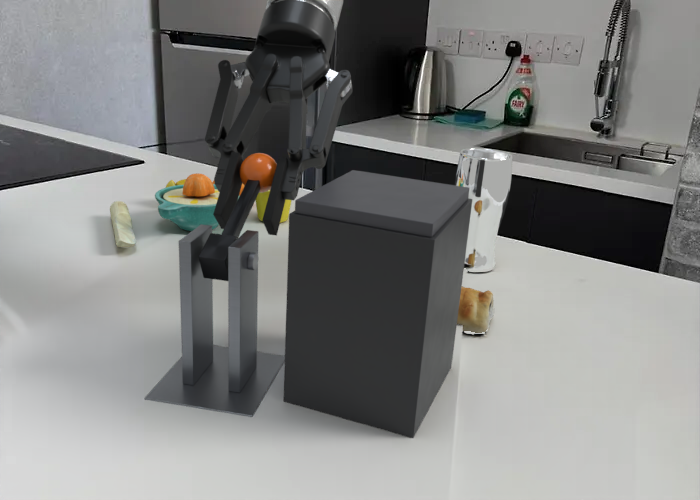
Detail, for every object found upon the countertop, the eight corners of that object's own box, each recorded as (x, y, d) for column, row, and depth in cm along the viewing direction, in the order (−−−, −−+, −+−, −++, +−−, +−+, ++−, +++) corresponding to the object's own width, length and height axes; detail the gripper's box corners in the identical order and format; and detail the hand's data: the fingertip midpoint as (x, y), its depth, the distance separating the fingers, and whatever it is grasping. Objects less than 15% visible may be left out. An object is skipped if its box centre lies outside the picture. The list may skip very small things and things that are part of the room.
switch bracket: (194, 352, 64) (191, 212, 59) (287, 366, 62) (291, 223, 58) (144, 410, 55) (136, 249, 50) (252, 429, 53) (254, 264, 48)
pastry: (399, 323, 72) (402, 290, 71) (412, 300, 78) (415, 269, 77) (489, 340, 70) (494, 306, 69) (494, 314, 76) (499, 282, 75)
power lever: (249, 174, 65) (243, 143, 62) (285, 178, 64) (281, 146, 62) (196, 282, 55) (187, 250, 52) (239, 287, 54) (232, 256, 52)
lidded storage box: (271, 409, 56) (277, 198, 50) (330, 347, 66) (340, 167, 60) (411, 450, 52) (436, 225, 46) (450, 377, 62) (474, 187, 56)
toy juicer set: (234, 193, 116) (235, 148, 113) (300, 221, 104) (302, 171, 101) (64, 219, 98) (60, 166, 95) (119, 258, 85) (116, 198, 83)
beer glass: (482, 254, 94) (496, 147, 89) (508, 273, 88) (525, 159, 83) (436, 257, 92) (449, 147, 87) (460, 276, 86) (475, 160, 81)
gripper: (383, 55, 72) (343, 254, 62) (230, 43, 74) (169, 233, 65) (379, 0, 65) (334, 215, 55) (212, -10, 68) (140, 193, 58)
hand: (245, 224), depth 60 cm, fingers open, 4 cm apart
